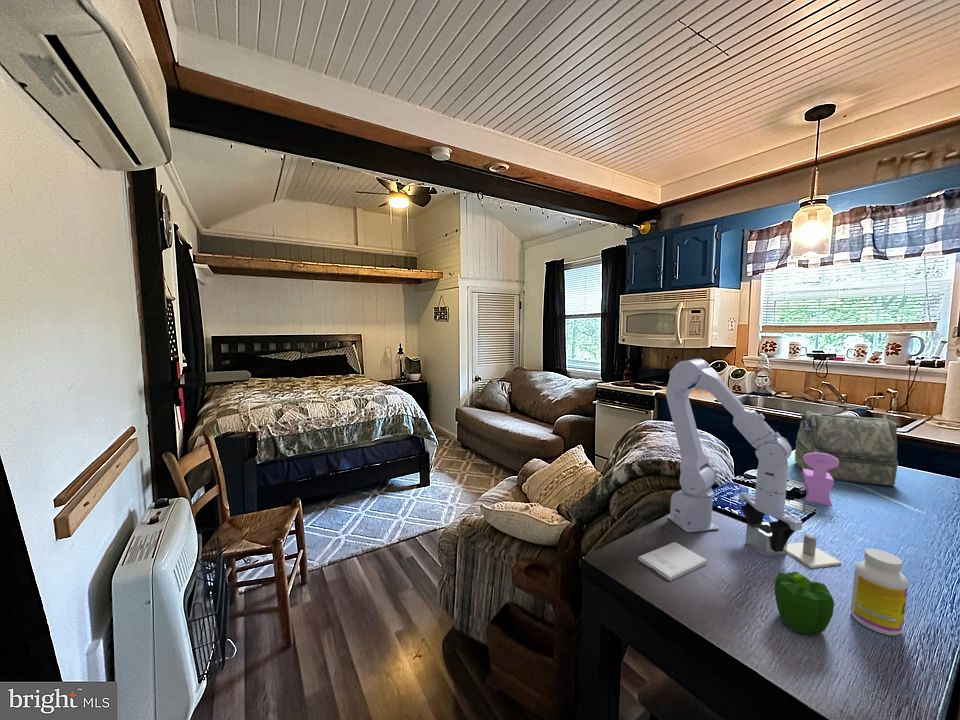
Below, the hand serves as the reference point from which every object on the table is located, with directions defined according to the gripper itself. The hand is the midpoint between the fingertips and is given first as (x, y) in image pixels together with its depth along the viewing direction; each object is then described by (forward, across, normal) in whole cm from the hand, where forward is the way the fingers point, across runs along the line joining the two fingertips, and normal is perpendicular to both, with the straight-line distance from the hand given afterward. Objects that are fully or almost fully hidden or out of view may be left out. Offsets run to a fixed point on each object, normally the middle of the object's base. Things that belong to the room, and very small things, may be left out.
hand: (765, 543), depth 93 cm
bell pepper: (+2, -21, +14) cm, 26 cm away
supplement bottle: (+2, -23, 0) cm, 23 cm away
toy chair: (+2, +21, -40) cm, 45 cm away
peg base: (+1, -4, -8) cm, 9 cm away
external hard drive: (+2, -1, +25) cm, 26 cm away
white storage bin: (+1, 0, 0) cm, 1 cm away
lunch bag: (+2, +35, -66) cm, 75 cm away
